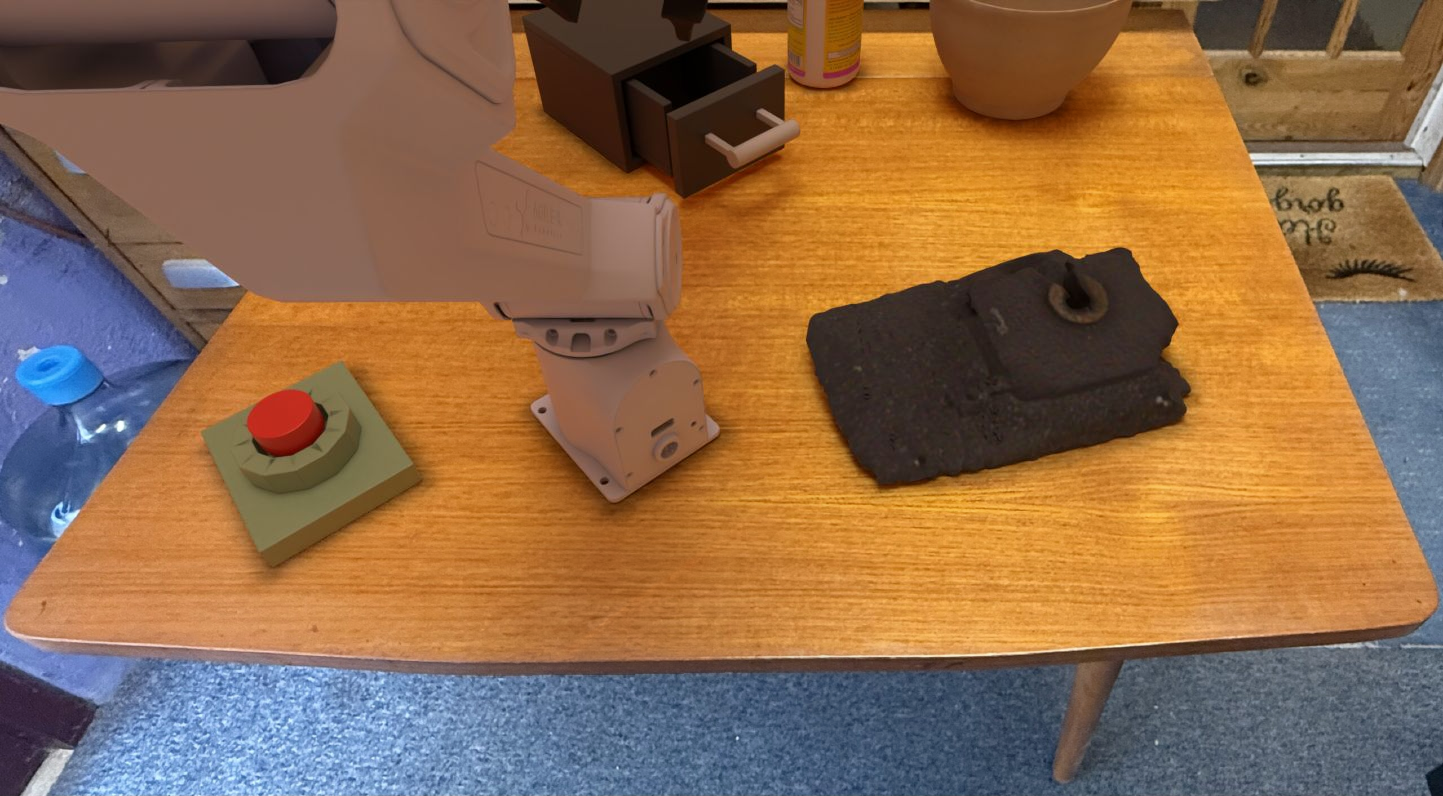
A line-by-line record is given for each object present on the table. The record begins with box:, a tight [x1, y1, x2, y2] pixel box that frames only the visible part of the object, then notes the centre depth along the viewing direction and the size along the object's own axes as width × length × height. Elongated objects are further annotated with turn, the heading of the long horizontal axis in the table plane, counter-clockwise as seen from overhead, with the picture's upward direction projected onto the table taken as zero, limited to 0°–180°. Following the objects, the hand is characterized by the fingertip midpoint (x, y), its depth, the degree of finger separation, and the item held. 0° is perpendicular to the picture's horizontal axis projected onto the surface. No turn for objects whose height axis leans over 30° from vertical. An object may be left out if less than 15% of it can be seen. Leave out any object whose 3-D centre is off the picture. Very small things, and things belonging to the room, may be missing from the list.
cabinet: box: [521, 0, 733, 174], centre depth 71 cm, size 14×12×9 cm
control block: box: [200, 360, 423, 568], centre depth 49 cm, size 11×9×4 cm
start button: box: [247, 389, 325, 457], centre depth 47 cm, size 4×4×2 cm
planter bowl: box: [929, 0, 1134, 121], centre depth 69 cm, size 16×16×11 cm
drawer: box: [621, 41, 801, 200], centre depth 66 cm, size 17×10×7 cm, turn 39°
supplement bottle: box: [786, 0, 865, 89], centre depth 73 cm, size 7×7×13 cm
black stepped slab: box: [805, 246, 1192, 484], centre depth 51 cm, size 15×22×5 cm
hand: (631, 17), depth 55 cm, fingers open, 7 cm apart
